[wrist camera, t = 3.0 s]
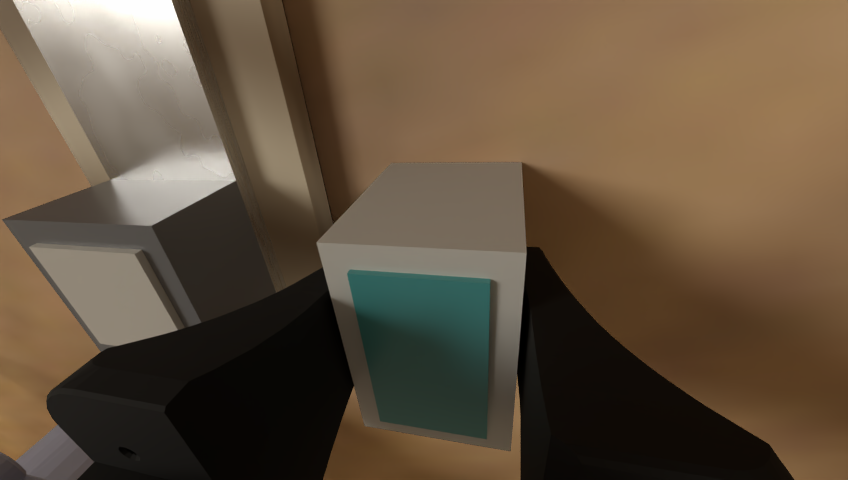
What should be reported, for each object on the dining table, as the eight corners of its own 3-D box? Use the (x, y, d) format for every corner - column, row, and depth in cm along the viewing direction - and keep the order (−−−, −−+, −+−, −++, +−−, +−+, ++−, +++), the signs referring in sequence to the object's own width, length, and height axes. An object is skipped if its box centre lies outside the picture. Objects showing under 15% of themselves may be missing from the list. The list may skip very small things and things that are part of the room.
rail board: (349, 294, 14) (338, 310, 14) (171, 279, 16) (152, 292, 16) (107, -757, 5) (26, -917, 4) (-238, -490, 7) (-340, -560, 6)
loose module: (512, 317, 13) (510, 457, 9) (409, 308, 14) (362, 431, 10) (521, 162, 10) (527, 257, 6) (390, 162, 11) (312, 246, 7)
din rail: (292, 306, 14) (284, 316, 14) (189, 296, 15) (178, 305, 15) (-84, -811, 5) (-156, -913, 4) (-281, -617, 6) (-357, -679, 5)
